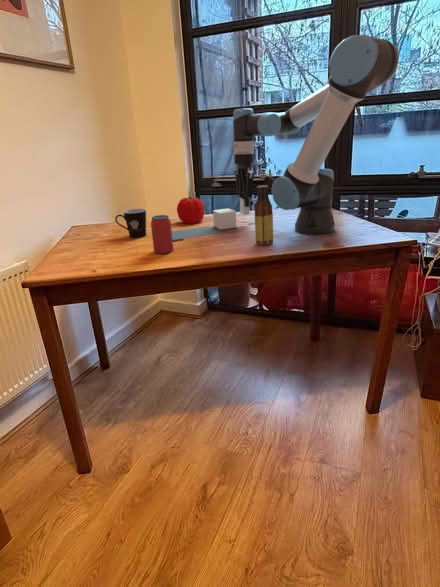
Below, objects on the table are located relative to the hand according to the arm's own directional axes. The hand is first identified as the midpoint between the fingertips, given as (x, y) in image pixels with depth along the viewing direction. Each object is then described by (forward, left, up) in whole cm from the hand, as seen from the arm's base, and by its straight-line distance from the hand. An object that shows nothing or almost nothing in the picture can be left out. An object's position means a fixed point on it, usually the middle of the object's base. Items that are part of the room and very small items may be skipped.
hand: (244, 214), depth 156 cm
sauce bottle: (-26, +5, -5) cm, 27 cm away
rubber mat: (0, +19, -5) cm, 20 cm away
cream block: (0, +9, -5) cm, 10 cm away
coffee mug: (+10, +44, -5) cm, 45 cm away
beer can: (-17, +39, -5) cm, 43 cm away
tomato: (+19, +17, -5) cm, 26 cm away
